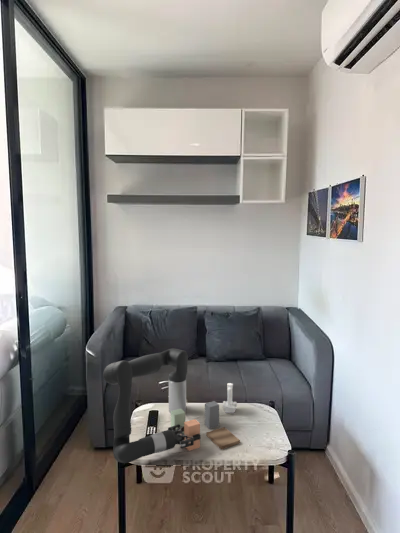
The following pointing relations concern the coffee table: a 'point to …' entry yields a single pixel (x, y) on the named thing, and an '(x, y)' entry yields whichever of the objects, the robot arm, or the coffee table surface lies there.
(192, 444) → the robot arm
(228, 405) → the figurine
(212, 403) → the charcoal brick
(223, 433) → the walnut board
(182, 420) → the sage brick
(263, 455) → the coffee table surface
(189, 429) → the terracotta brick
